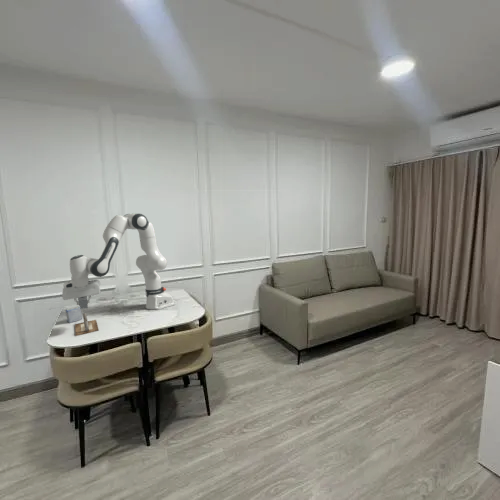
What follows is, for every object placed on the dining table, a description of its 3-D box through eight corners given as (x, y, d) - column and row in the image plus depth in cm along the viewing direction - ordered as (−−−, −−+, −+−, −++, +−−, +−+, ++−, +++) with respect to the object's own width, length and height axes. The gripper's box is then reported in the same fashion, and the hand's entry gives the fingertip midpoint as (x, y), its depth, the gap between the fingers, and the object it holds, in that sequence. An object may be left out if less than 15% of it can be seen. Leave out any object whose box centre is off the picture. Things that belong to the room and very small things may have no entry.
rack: (96, 320, 189) (94, 311, 188) (98, 330, 173) (97, 320, 172) (75, 325, 183) (73, 315, 182) (75, 336, 167) (74, 325, 166)
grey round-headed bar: (87, 302, 182) (86, 295, 181) (88, 307, 172) (87, 299, 171) (78, 304, 179) (77, 296, 179) (79, 309, 169) (78, 301, 169)
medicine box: (80, 318, 195) (78, 306, 194) (82, 319, 192) (80, 307, 191) (67, 321, 189) (65, 309, 188) (69, 323, 186) (67, 311, 185)
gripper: (99, 278, 180) (101, 298, 182) (60, 283, 169) (64, 305, 172) (100, 280, 175) (102, 301, 177) (60, 286, 164) (63, 308, 166)
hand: (83, 303), depth 174 cm, fingers closed on grey round-headed bar, 4 cm apart
